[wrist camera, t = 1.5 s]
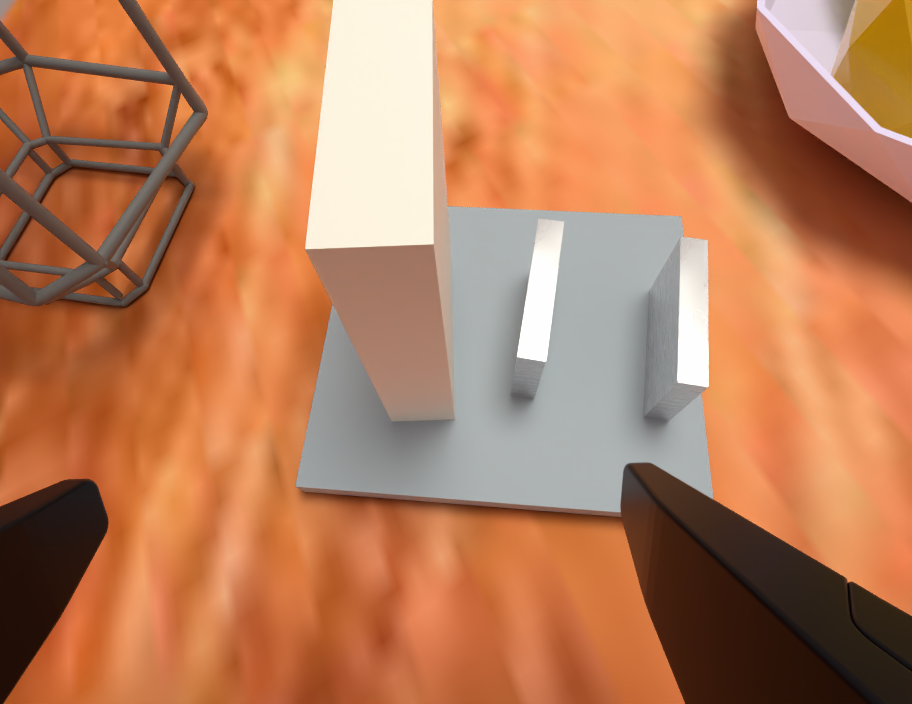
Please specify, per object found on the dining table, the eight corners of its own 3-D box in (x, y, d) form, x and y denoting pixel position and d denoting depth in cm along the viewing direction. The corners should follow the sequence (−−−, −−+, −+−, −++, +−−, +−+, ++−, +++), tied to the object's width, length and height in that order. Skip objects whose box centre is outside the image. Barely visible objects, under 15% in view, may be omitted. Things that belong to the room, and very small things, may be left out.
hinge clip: (668, 421, 21) (708, 386, 18) (510, 395, 22) (517, 356, 18) (672, 294, 24) (707, 240, 20) (529, 274, 24) (538, 218, 21)
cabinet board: (703, 523, 21) (715, 520, 20) (304, 491, 22) (295, 486, 21) (673, 231, 26) (681, 216, 25) (358, 217, 27) (353, 202, 26)
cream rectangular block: (455, 419, 22) (433, 244, 11) (367, 422, 22) (256, 251, 11) (451, 255, 25) (432, -8, 14) (375, 258, 25) (296, -1, 14)
